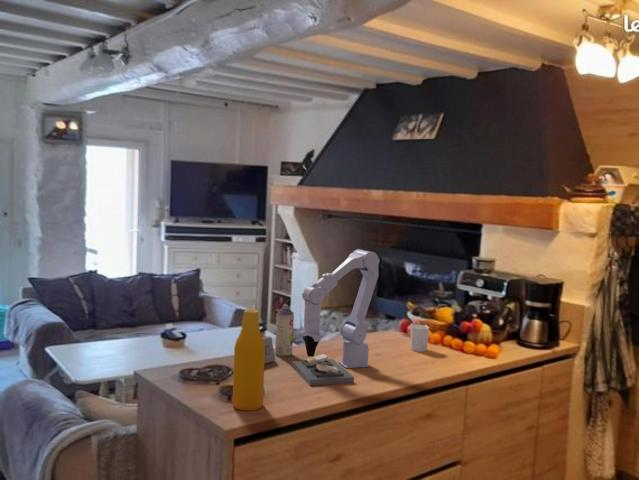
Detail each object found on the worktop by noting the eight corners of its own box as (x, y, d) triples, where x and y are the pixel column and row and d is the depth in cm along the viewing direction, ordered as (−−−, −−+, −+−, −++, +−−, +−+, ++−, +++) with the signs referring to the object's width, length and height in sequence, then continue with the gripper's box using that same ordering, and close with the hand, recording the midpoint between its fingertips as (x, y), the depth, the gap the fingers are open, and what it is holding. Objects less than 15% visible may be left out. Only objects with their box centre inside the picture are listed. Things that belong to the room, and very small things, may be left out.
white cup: (429, 352, 250) (430, 329, 249) (410, 351, 250) (412, 328, 249) (426, 347, 258) (427, 325, 257) (408, 346, 258) (409, 324, 257)
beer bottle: (254, 413, 174) (257, 315, 172) (226, 407, 177) (229, 311, 175) (268, 403, 183) (272, 310, 180) (241, 398, 186) (244, 306, 184)
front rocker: (333, 371, 211) (334, 366, 211) (337, 374, 207) (338, 370, 207) (315, 368, 209) (316, 363, 209) (319, 371, 205) (320, 366, 205)
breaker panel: (332, 364, 227) (332, 354, 226) (353, 382, 206) (354, 372, 206) (291, 366, 222) (292, 356, 221) (309, 385, 201) (310, 374, 200)
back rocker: (325, 358, 222) (324, 353, 221) (328, 361, 218) (327, 356, 218) (307, 363, 220) (306, 359, 219) (310, 366, 216) (309, 362, 216)
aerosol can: (291, 357, 233) (293, 307, 232) (273, 356, 234) (276, 306, 232) (292, 352, 240) (295, 303, 239) (276, 351, 241) (278, 302, 239)
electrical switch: (258, 366, 220) (257, 341, 220) (248, 364, 223) (247, 340, 223) (275, 361, 227) (274, 337, 227) (265, 359, 230) (265, 336, 230)
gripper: (295, 315, 222) (294, 351, 223) (307, 324, 208) (305, 362, 210) (313, 314, 224) (312, 350, 225) (326, 323, 211) (324, 361, 212)
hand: (310, 356), depth 218 cm, fingers closed
